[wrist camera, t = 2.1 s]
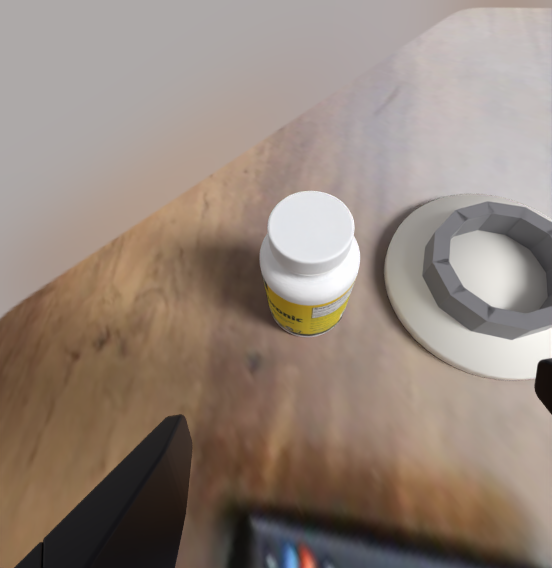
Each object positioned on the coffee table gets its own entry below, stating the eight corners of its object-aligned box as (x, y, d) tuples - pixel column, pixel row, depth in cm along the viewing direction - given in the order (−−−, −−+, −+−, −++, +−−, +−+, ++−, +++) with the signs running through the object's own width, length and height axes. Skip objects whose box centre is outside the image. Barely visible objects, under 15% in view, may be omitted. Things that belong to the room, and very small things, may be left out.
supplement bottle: (255, 290, 25) (232, 206, 16) (318, 258, 26) (329, 161, 17) (292, 354, 23) (289, 298, 14) (359, 316, 23) (397, 239, 15)
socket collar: (629, 276, 24) (673, 254, 21) (528, 431, 20) (565, 429, 17) (452, 174, 28) (469, 146, 26) (344, 284, 25) (350, 264, 22)
